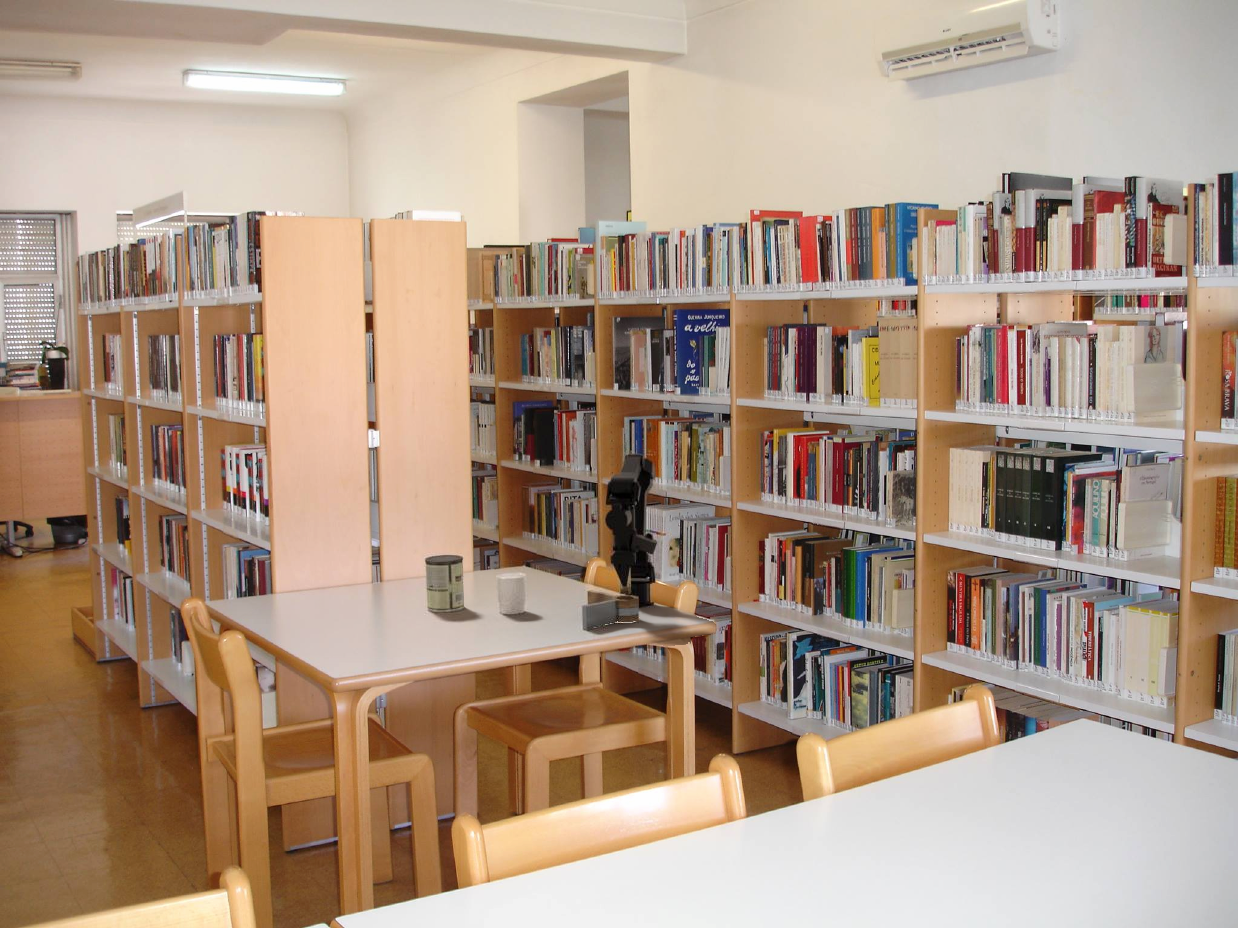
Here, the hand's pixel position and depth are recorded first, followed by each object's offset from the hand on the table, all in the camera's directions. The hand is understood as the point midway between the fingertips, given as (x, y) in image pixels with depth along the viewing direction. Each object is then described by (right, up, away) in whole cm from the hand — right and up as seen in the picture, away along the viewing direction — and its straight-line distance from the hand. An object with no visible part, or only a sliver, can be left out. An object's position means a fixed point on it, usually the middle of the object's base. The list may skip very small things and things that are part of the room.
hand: (624, 585), depth 306 cm
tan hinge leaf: (-3, -9, +5) cm, 11 cm away
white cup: (-30, -9, +14) cm, 34 cm away
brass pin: (0, -2, 0) cm, 2 cm away
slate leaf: (-4, -10, -3) cm, 11 cm away
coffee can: (-49, -9, +19) cm, 54 cm away
